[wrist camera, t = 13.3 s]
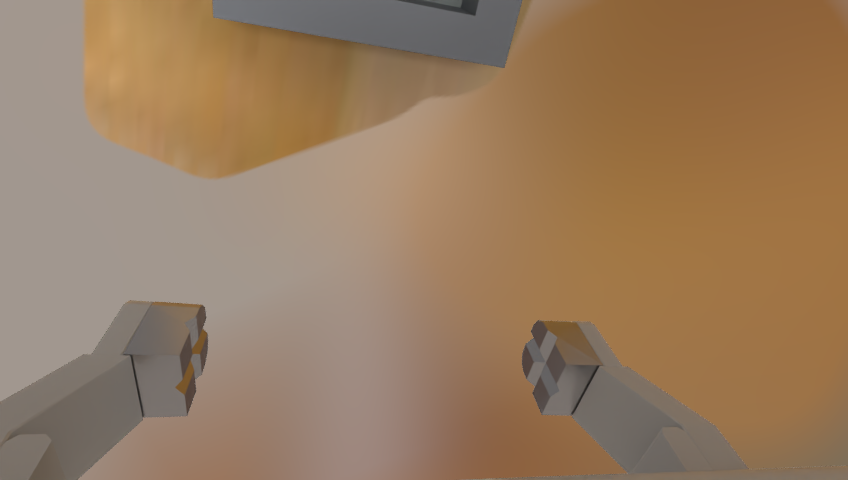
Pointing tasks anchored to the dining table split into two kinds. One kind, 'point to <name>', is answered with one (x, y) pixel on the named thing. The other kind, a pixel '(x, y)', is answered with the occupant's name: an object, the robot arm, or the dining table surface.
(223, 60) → the dining table surface
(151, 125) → the dining table surface
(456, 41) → the gray square tray
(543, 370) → the robot arm
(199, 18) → the dining table surface
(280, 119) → the dining table surface
